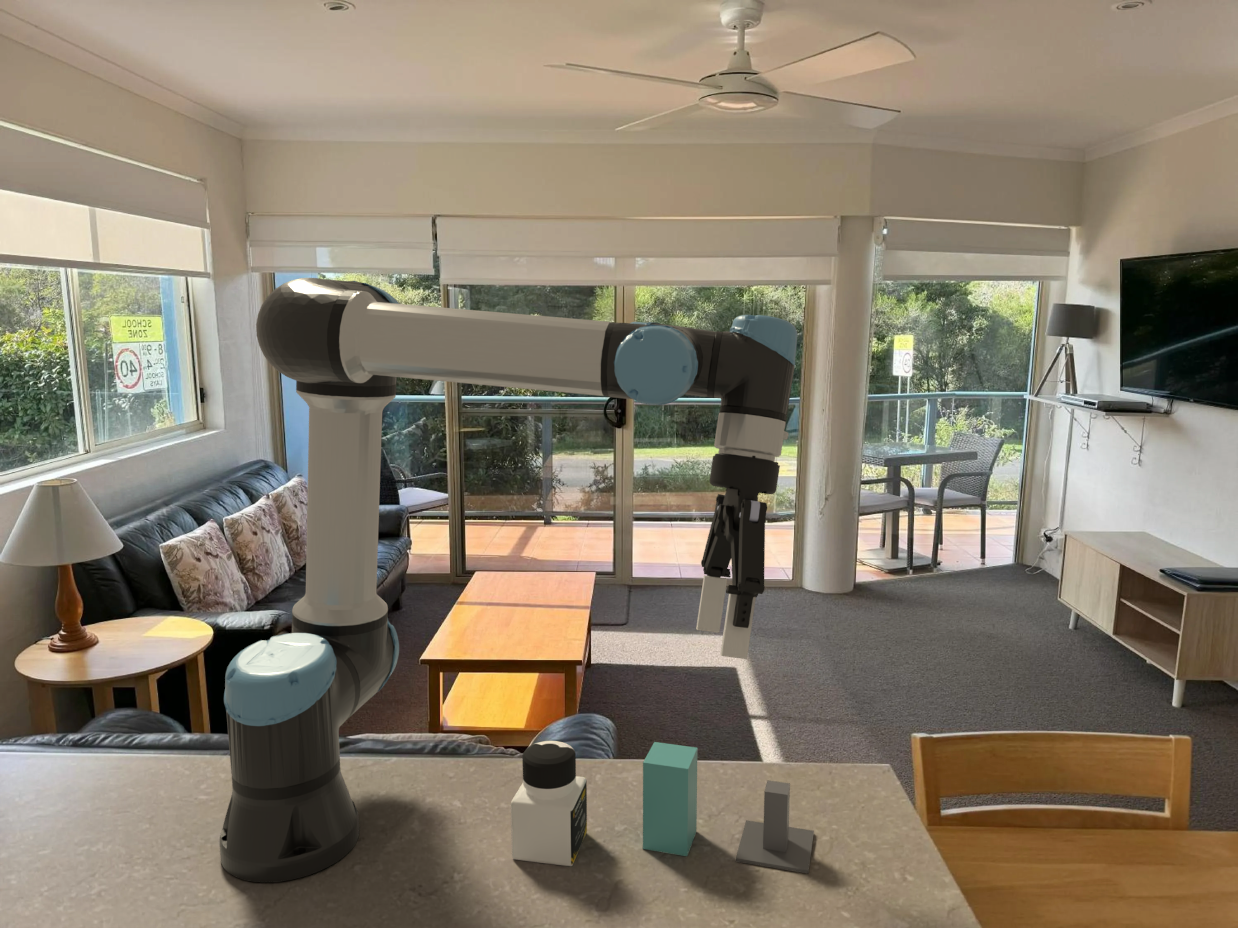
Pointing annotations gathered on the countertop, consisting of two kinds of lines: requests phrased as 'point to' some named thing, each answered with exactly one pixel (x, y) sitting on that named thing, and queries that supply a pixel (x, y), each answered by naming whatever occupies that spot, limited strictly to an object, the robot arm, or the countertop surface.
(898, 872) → the countertop surface
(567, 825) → the medicine bottle
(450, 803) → the countertop surface
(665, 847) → the tall teal pillar
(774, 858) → the grey square base plate
